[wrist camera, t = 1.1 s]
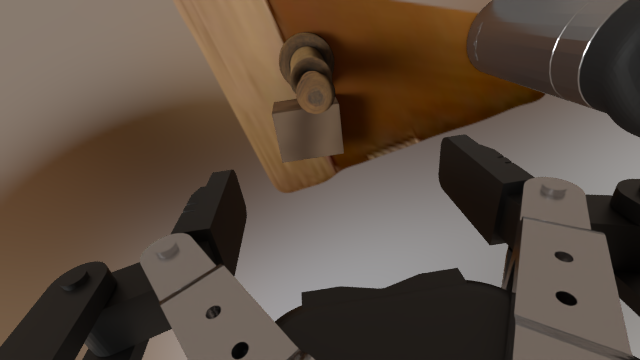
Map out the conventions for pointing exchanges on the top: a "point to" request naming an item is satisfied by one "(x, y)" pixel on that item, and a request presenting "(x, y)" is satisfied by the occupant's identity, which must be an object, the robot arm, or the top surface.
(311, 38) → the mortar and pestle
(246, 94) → the top surface
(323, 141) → the walnut stand
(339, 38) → the top surface
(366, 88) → the top surface
